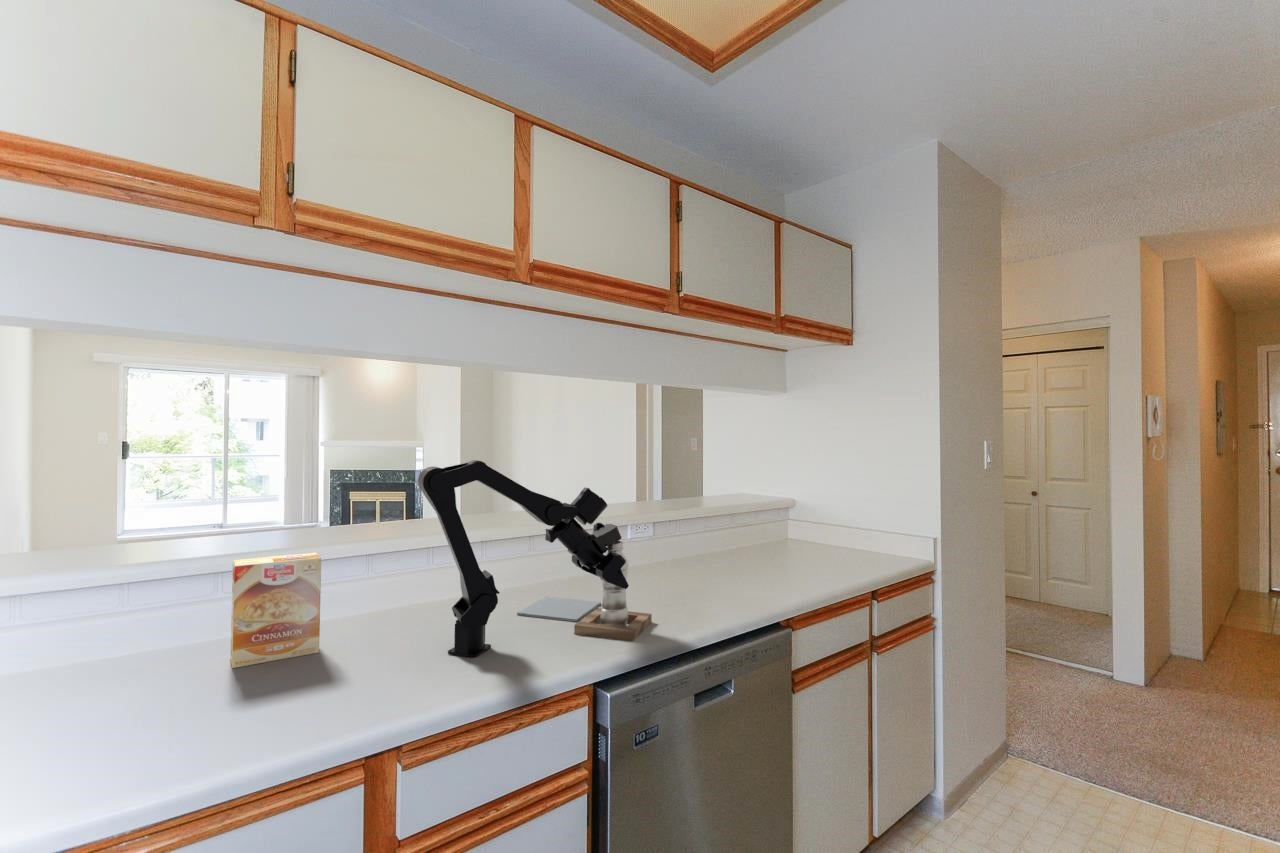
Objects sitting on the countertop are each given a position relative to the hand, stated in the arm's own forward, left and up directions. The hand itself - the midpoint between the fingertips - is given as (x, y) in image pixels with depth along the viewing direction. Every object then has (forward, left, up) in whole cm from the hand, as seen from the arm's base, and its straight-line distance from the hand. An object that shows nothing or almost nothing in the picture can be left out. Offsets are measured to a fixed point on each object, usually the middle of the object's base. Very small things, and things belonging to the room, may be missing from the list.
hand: (620, 583), depth 142 cm
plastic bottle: (-1, +1, -10) cm, 10 cm away
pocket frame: (-1, +1, -10) cm, 10 cm away
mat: (+8, +19, -10) cm, 23 cm away
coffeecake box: (-40, +59, -10) cm, 72 cm away
